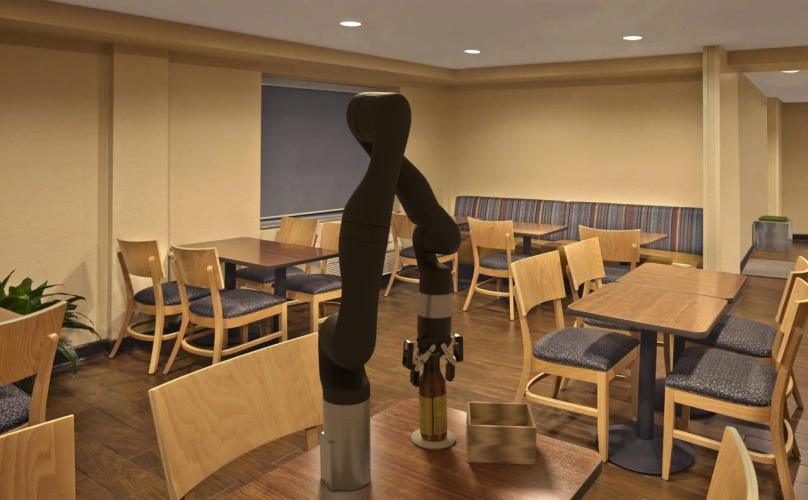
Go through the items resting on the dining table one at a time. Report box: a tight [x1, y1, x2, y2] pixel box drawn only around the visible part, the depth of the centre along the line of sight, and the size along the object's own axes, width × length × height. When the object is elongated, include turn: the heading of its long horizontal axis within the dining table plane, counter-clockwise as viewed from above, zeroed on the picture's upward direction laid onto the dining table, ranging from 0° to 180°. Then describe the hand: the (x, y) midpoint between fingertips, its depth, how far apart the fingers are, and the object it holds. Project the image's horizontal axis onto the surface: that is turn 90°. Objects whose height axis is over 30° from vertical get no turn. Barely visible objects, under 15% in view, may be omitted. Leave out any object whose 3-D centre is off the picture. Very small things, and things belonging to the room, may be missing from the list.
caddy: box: [465, 400, 538, 465], centre depth 140 cm, size 14×13×8 cm
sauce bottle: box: [418, 352, 448, 442], centre depth 144 cm, size 6×6×20 cm
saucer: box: [410, 428, 457, 450], centre depth 146 cm, size 10×10×1 cm
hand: (432, 383), depth 144 cm, fingers open, 8 cm apart
